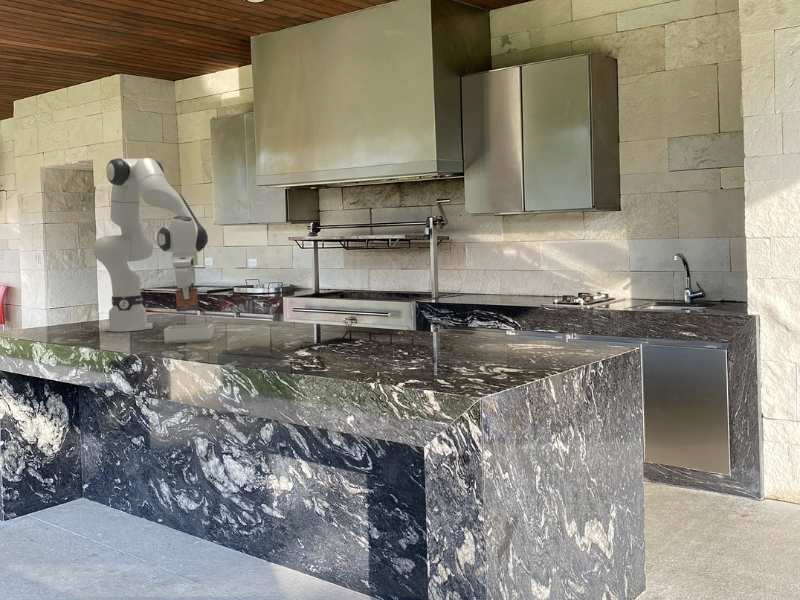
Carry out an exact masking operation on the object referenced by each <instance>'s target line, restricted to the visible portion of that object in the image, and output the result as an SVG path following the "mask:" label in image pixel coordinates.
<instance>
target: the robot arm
mask: <svg viewBox="0 0 800 600" xmlns="http://www.w3.org/2000/svg"><path fill="white" fill-rule="evenodd" d="M106 177H107V180H108V182H109V183H110V184H111V186H112V187H111V192H110V193H111V194H110V220H111V221H112V223H114V224H115V225H116V226H117V227H119V229H120V232H121V234H117V235H116V234H115V235H107V236H106V235H105V236H102V237H99V238H97V239H95V241H94V243H93V245H92V253H93V255H94V257H95V259H96V260H97V262H98V261H99V262H100V263H101V264H102V265H103V266H104V268H105V269H106V270H107V272H108V275H109V278H110V281H111V282H110V283H111V291H112V292H111V293H112V296H111V305H112V307H111V308H110V309H109V310H108V327H106V328H104V329H105V330H104V331H105V332H107V331H108V332H119V333H121V332H122V333H123V332H135V331H143V330H152V329H153V328H154V327H153V326H154V325H153V322H149V317H147V316H148V315H147V309H146V308H145V306H144V305H143V295H142V294H141V293H142V292H141V278H140V276H139V274H138V273H136V272H135V271H133V270H131V268H130V267H129V265H128V262H139V261H143V260H147V259H149V258H150V257H151V256H152V254H153V252H154V243H153V241H152V240H151V238H150V237H149V236H148V235H147V234H146V233H145V231H144V230H143V228H142V225H141V220H140V202H141V201H140V199H141V198H142V200H143V201H144V202H145V203H146V204H148V205H149V206H152V207H155V208H159V209H164V210H166V211H170V212H172V213H174V214H175V215H176V216H174V217H172V218H171V221H170V223H169V224H167V225H166V226H163V227H161V228H160V229H159V230H158V232H157V237H156V239H157V240H156V241H157V245H158V247H159V249H161V250H162V251H163V252H165V253H166V252H167V253H172V254H171V255H172V256H171V257H172V268H174V275H175V282H176V288H177V287H178V288H177V289H181V288H182V291H183V294H184V299H189V287H190V286H191V285H192V283H194V285H195V284H196V282H197V281H196V270H195V269H196V268H195V266H198V265H199V261H198V258H199V256H198V253H199V252H202V251H203V250H204V248H206V246H207V244H208V241H209V239H208V238H209V235H208V233H207V230H206V229H205V228H204V227H203V226H202V225H201V223H200V222H199V221H198V219H197V218H196V216H195V214H194V212H193V211H192V210H191V207H190V206H189V204H188V202H187V201H186V199H185V198H184V197H183V195H182V194H180V193H179V192H177V191H176V190H175V189H174V188H173V187H172V186H171V185H170V184H169V182H168V181H167V178H166V176H165V173H164V168H163V165H162V164H161V162H159V161H157V160H155V159H153V158H151V157H150V158H149V157H144V158H143V157H142V158H139V157H138V158H137V157H136V158H134V157H133V158H120V157H119V158H114V159H111V160H109V162H108V163H107V166H106ZM190 288H191V287H190Z"/></svg>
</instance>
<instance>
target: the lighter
mask: <svg viewBox="0 0 800 600" xmlns="http://www.w3.org/2000/svg"><path fill="white" fill-rule="evenodd" d="M190 287H191V288H190ZM190 287H189V299H184V294H183V291H182V288H178V287H177V286H176V288H177V289H175V290H174V293H175V299H176V300H175V301H176V308H175V309H176V312H188V311H189V312H190V311H196V310H199V307H200V306H199V301H198V290H199V289H198V288H197V287H195V284H194V283H192V285H191V286H190Z"/></svg>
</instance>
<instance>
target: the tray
mask: <svg viewBox="0 0 800 600" xmlns="http://www.w3.org/2000/svg"><path fill="white" fill-rule="evenodd" d="M214 330H215V329H214V323H204V324H202V323H201V324H185V325H184V324H183V325H181V324H179V325H178V324H177V325H168V326H167V327H166V328H164V329H163V334H164V335H163V336H164V337H163V339H164V340H163V341H164V345H165V344H167V345H168V344H184V343H185V344H186V343H187V344H188V343H189V344H190V343H206V342H207V343H209V342H211V341H212V340H213V339H214V338H215V331H214Z"/></svg>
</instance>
